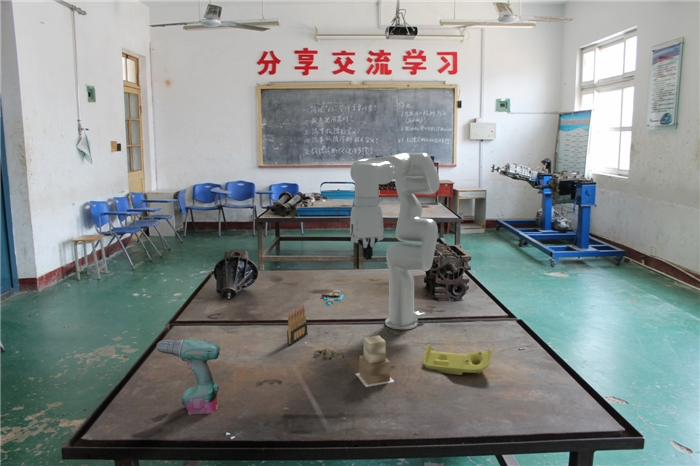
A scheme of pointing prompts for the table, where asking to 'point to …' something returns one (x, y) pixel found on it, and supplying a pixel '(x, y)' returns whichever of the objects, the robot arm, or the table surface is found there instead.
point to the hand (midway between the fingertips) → (367, 258)
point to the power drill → (196, 372)
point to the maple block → (374, 349)
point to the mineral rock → (327, 354)
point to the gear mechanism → (335, 297)
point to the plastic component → (456, 361)
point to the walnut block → (374, 371)
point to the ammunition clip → (296, 325)
